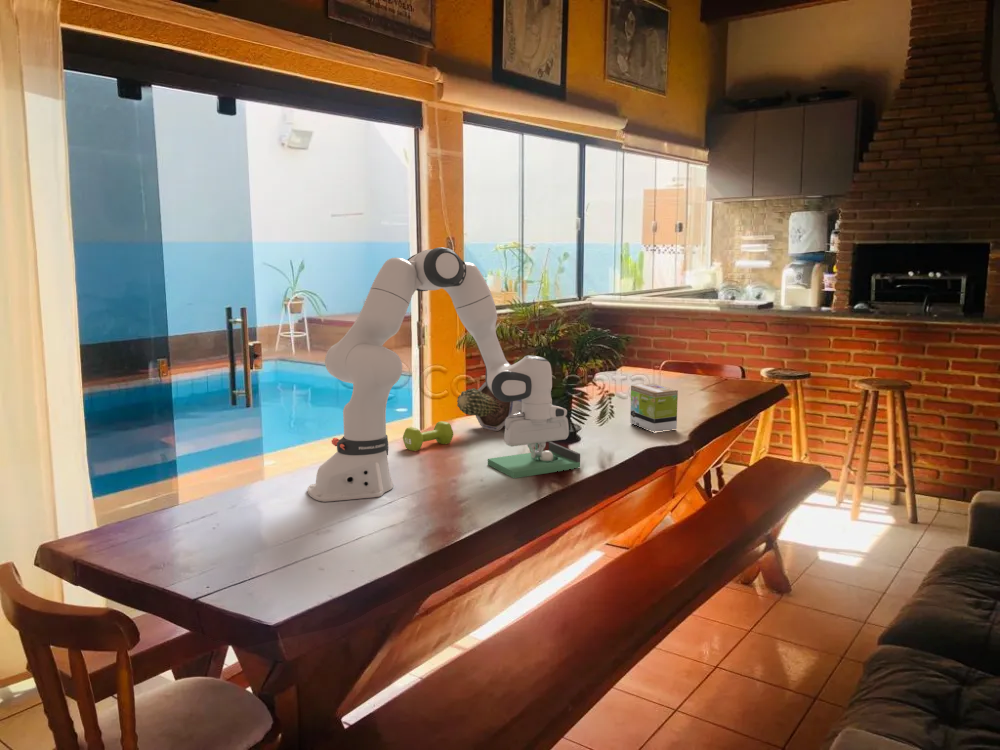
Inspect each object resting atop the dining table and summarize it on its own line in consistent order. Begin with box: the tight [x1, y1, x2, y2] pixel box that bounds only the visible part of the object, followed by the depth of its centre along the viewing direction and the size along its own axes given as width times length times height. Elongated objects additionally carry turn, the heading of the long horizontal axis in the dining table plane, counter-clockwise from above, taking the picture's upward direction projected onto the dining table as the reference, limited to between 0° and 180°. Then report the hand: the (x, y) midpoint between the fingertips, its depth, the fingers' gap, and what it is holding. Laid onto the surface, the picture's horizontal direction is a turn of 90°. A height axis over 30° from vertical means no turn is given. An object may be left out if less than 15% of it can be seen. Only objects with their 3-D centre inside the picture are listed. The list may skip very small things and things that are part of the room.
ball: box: [540, 449, 553, 461], centre depth 239 cm, size 4×4×4 cm
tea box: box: [629, 382, 679, 432], centre depth 284 cm, size 15×10×15 cm, turn 25°
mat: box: [487, 441, 581, 479], centre depth 236 cm, size 22×16×4 cm
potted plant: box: [456, 381, 522, 432], centre depth 282 cm, size 18×18×30 cm
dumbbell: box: [402, 420, 454, 452], centre depth 260 cm, size 16×8×7 cm, turn 132°
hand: (536, 457), depth 237 cm, fingers closed
